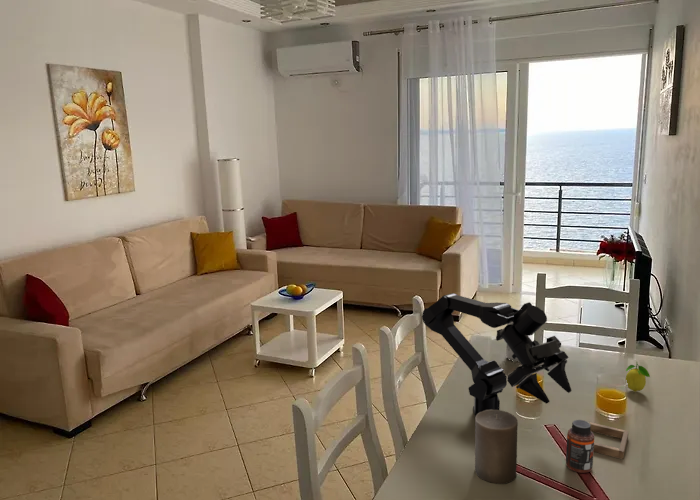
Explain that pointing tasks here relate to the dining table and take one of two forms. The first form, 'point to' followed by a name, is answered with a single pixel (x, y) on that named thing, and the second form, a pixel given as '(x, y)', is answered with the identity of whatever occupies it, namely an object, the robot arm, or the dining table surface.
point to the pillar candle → (496, 446)
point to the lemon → (636, 377)
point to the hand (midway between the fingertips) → (559, 397)
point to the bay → (615, 433)
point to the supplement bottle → (580, 447)
